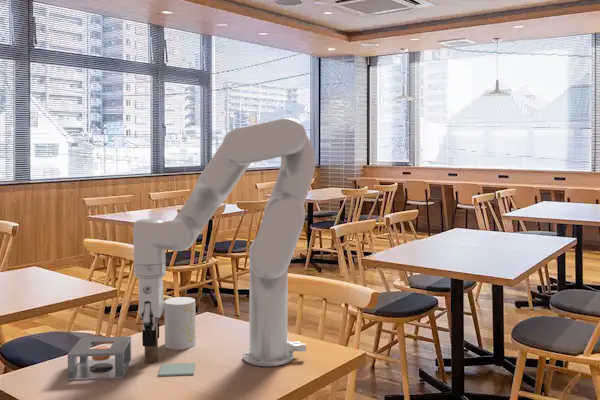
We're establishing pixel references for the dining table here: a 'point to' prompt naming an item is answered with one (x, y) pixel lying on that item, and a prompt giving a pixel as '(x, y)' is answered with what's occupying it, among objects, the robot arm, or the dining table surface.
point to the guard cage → (99, 368)
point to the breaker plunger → (100, 358)
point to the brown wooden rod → (152, 347)
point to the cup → (179, 323)
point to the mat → (177, 369)
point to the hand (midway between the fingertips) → (151, 341)
